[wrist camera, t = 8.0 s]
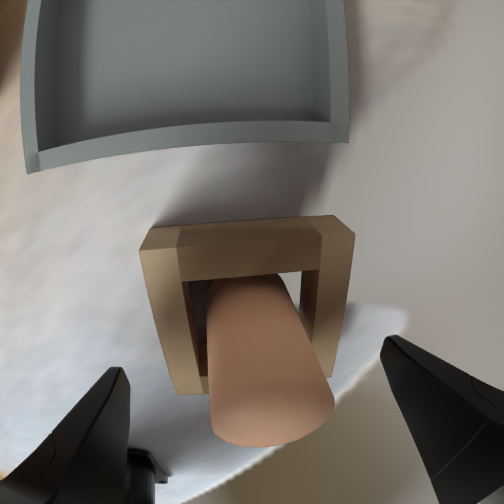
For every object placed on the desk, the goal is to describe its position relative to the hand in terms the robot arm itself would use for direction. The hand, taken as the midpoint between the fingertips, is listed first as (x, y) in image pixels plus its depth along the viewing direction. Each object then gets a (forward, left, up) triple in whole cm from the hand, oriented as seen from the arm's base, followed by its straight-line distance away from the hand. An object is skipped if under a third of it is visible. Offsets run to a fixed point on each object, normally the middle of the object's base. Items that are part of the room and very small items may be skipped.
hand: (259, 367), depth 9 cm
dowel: (0, 0, -4) cm, 4 cm away
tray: (+11, +2, -4) cm, 11 cm away
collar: (0, 0, -4) cm, 4 cm away
